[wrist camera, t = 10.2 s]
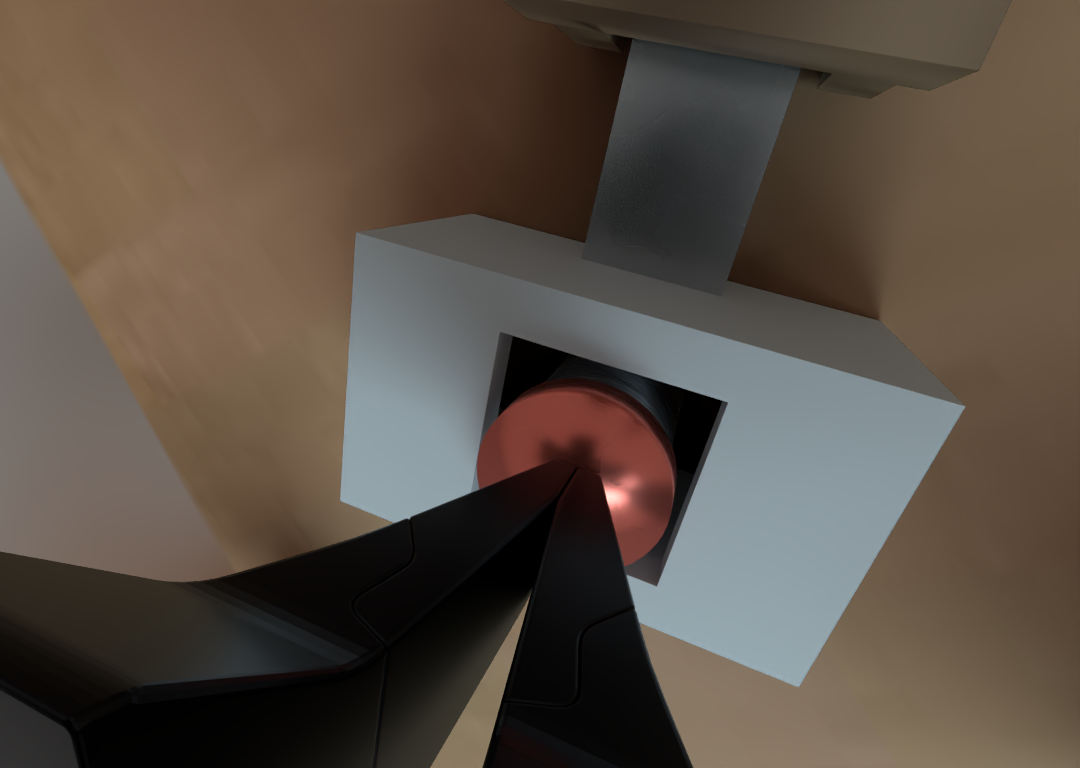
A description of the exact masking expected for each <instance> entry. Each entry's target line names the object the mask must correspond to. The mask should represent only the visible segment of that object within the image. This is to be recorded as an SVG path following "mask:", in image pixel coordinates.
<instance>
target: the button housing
mask: <svg viewBox="0 0 1080 768" xmlns="http://www.w3.org/2000/svg"><path fill="white" fill-rule="evenodd" d="M584 246H585V243H583V242H579V241H575V240H571V239H568V238H564V237H560V236H556V235H552V234H549V233H545V232H541V231H537V230H533V229H530V228H526V227H522V226H518V225H514V224H511V223H507V222H503V221H499V220H495V219H492V218H488V217H484V216H480V215H476V214H467V215H461V216H455V217H448V218H442V219H436V220H430V221H424V222H417V223H411V224H405V225H399V226H393V227H386V228H380V229H374V230H368V231H362V232H356V239H355V256H354V273H353V291H352V308H351V325H350V342H349V359H348V376H347V393H346V411H345V428H344V445H343V462H342V479H341V496H340V501H342V502H344V503H347V504H349V505H352V506H354V507H357V508H359V509H362V510H364V511H367V512H369V513H371V514H374V515H376V516H379V517H381V518H384V519H386V520H389V521H391V522H394V523H396V522H398V521H401V520H403V519H406V518H408V519H410V517H411V516H413V515H416V514H418V513H421V512H423V511H426V510H428V509H431V508H433V507H436V506H438V505H441V504H443V503H446V502H448V501H451V500H453V499H456V498H458V497H461V496H463V495H466V494H468V493H471V492H473V491H476V490H478V489H479V485H478V479H477V460H478V453H479V449H480V445H481V443H482V440H483V438H484V436H485V434H486V432H487V431H488V429H489V428H490V426H491V425H492V424H493V422H494V421H495V420H496V419H497V418H498V417H499V416H500V415H501V414H502V413H503V412H504V410H503V409H500V408H499V406H500V401H501V395H502V390H503V385H504V380H505V374H506V369H507V364H508V359H509V353H510V348H511V343H512V338H513V336H515V337H518V338H522V339H525V340H528V341H531V342H535V343H538V344H541V345H544V346H547V347H551V348H554V349H557V350H560V351H564V352H567V353H570V354H573V355H576V356H580V357H583V358H586V359H589V360H593V361H596V362H599V363H602V364H606V365H609V366H612V367H615V368H618V369H622V370H625V371H628V372H631V373H635V374H638V375H641V376H644V377H648V378H651V379H654V380H657V381H660V382H664V383H667V384H670V385H673V386H677V387H680V388H683V389H686V390H689V391H693V392H696V393H699V394H702V395H706V396H709V397H712V398H715V399H719V400H722V404H721V407H720V409H719V412H718V415H717V417H716V420H715V422H714V425H713V428H712V430H711V433H710V435H709V438H708V441H707V443H706V446H705V449H704V451H703V454H702V456H701V459H700V462H699V464H698V467H697V469H696V472H695V475H693V474H691V473H688V472H685V471H682V470H679V469H677V479H676V488H675V493H674V499H673V505H672V510H671V515H670V518H669V522H668V525H667V527H666V529H665V531H664V533H663V535H662V537H661V538H660V540H659V541H658V543H657V544H656V545H655V546H654V547H653V548H652V549H651V550H650V551H649V552H648V553H647V554H646V555H644V556H643V557H642V558H640V559H639V560H637V561H635V562H633V563H631V564H630V565H627V566H625V570H626V574H627V578H628V582H629V586H630V590H631V593H632V597H633V601H634V605H635V611H636V612H637V616H638V619H639V623H642V624H644V625H647V626H649V627H652V628H654V629H656V630H659V631H661V632H664V633H666V634H669V635H671V636H674V637H676V638H679V639H681V640H684V641H686V642H688V643H691V644H693V645H696V646H698V647H701V648H703V649H706V650H708V651H711V652H713V653H715V654H718V655H720V656H723V657H725V658H728V659H730V660H733V661H735V662H738V663H740V664H742V665H745V666H747V667H750V668H752V669H755V670H757V671H760V672H762V673H765V674H767V675H770V676H772V677H774V678H777V679H779V680H782V681H784V682H787V683H789V684H792V685H794V686H797V687H799V686H800V684H801V682H802V681H803V679H804V677H805V676H806V674H807V672H808V671H809V669H810V667H811V666H812V664H813V662H814V661H815V659H816V657H817V656H818V654H819V652H820V650H821V649H822V647H823V645H824V644H825V642H826V640H827V639H828V637H829V635H830V634H831V632H832V630H833V629H834V627H835V625H836V624H837V622H838V620H839V618H840V617H841V615H842V613H843V612H844V610H845V608H846V607H847V605H848V603H849V602H850V600H851V598H852V597H853V595H854V593H855V592H856V590H857V588H858V586H859V585H860V583H861V581H862V580H863V578H864V576H865V575H866V573H867V571H868V570H869V568H870V566H871V565H872V563H873V561H874V560H875V558H876V556H877V554H878V553H879V551H880V549H881V548H882V546H883V544H884V543H885V541H886V539H887V538H888V536H889V534H890V533H891V531H892V529H893V528H894V526H895V524H896V522H897V521H898V519H899V517H900V516H901V514H902V512H903V511H904V509H905V507H906V506H907V504H908V502H909V501H910V499H911V497H912V496H913V494H914V492H915V490H916V489H917V487H918V485H919V484H920V482H921V480H922V479H923V477H924V475H925V474H926V472H927V470H928V469H929V467H930V465H931V464H932V462H933V460H934V458H935V457H936V455H937V453H938V452H939V450H940V448H941V447H942V445H943V443H944V442H945V440H946V438H947V437H948V435H949V433H950V432H951V430H952V428H953V427H954V425H955V423H956V421H957V420H958V418H959V416H960V415H961V413H962V411H963V410H964V408H965V406H964V405H963V404H962V403H961V402H960V401H959V400H958V399H957V398H956V397H955V396H954V395H953V394H952V393H951V392H950V391H949V390H948V388H947V387H946V386H945V385H944V384H943V383H942V382H941V381H940V380H939V379H938V378H937V377H936V376H935V375H934V374H933V373H932V372H931V371H930V370H929V369H928V368H927V367H926V366H925V365H924V364H923V363H922V362H921V361H920V360H919V359H918V358H917V357H916V356H915V355H914V354H913V353H912V352H911V351H910V350H909V349H908V348H907V347H906V346H905V345H904V344H903V343H902V342H901V341H900V340H899V339H898V338H897V337H896V336H895V335H894V334H893V333H892V332H891V331H890V330H889V329H888V328H887V327H886V326H885V325H884V324H883V323H882V322H881V321H879V320H875V319H871V318H867V317H863V316H860V315H856V314H852V313H848V312H844V311H841V310H837V309H833V308H829V307H826V306H822V305H818V304H814V303H810V302H807V301H803V300H799V299H795V298H791V297H788V296H784V295H780V294H776V293H772V292H769V291H765V290H761V289H757V288H753V287H750V286H746V285H742V284H738V283H734V282H731V281H727V282H726V285H725V287H724V290H723V293H722V296H717V295H714V294H710V293H706V292H702V291H699V290H695V289H691V288H688V287H684V286H680V285H677V284H673V283H669V282H665V281H662V280H658V279H654V278H651V277H647V276H643V275H640V274H636V273H632V272H628V271H625V270H621V269H617V268H614V267H610V266H606V265H603V264H599V263H595V262H591V261H588V260H584V259H582V254H583V250H584Z"/></svg>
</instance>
